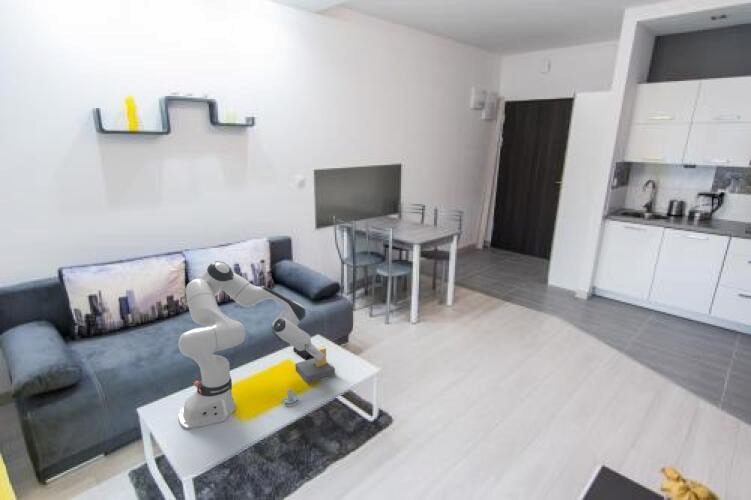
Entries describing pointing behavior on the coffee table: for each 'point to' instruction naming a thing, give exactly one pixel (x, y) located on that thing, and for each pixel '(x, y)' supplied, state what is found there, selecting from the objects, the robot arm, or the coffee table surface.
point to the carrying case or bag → (303, 354)
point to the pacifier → (290, 398)
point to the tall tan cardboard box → (323, 360)
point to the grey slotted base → (314, 370)
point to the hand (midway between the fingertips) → (319, 354)
